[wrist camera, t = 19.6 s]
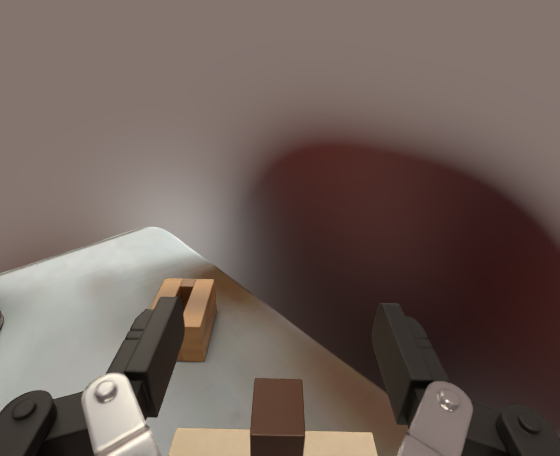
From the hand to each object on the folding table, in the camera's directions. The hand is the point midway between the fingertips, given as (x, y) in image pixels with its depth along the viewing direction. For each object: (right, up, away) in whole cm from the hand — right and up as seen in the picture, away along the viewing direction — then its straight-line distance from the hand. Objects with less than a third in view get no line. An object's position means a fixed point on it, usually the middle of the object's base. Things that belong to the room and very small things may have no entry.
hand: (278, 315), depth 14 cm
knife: (-1, -18, +7) cm, 20 cm away
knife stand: (-11, -9, +26) cm, 29 cm away
